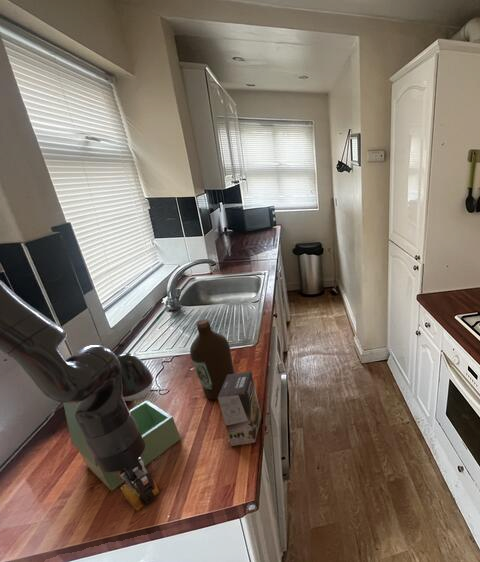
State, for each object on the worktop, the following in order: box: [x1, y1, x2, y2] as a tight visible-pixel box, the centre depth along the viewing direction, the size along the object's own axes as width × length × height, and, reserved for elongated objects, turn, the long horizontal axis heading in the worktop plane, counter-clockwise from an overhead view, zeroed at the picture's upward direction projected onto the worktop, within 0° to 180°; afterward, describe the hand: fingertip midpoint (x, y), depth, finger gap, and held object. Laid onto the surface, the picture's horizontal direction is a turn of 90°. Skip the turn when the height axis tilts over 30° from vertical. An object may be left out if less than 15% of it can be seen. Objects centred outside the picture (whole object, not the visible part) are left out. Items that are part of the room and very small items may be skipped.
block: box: [120, 478, 160, 512], centre depth 67 cm, size 4×4×4 cm
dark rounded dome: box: [116, 352, 154, 402], centre depth 95 cm, size 10×10×15 cm
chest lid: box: [62, 402, 98, 467], centre depth 67 cm, size 16×13×1 cm
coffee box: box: [217, 370, 262, 447], centre depth 80 cm, size 9×6×16 cm
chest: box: [78, 400, 182, 492], centre depth 77 cm, size 16×13×8 cm
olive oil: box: [189, 318, 235, 401], centre depth 94 cm, size 11×11×25 cm
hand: (142, 495), depth 67 cm, fingers closed on block, 4 cm apart
